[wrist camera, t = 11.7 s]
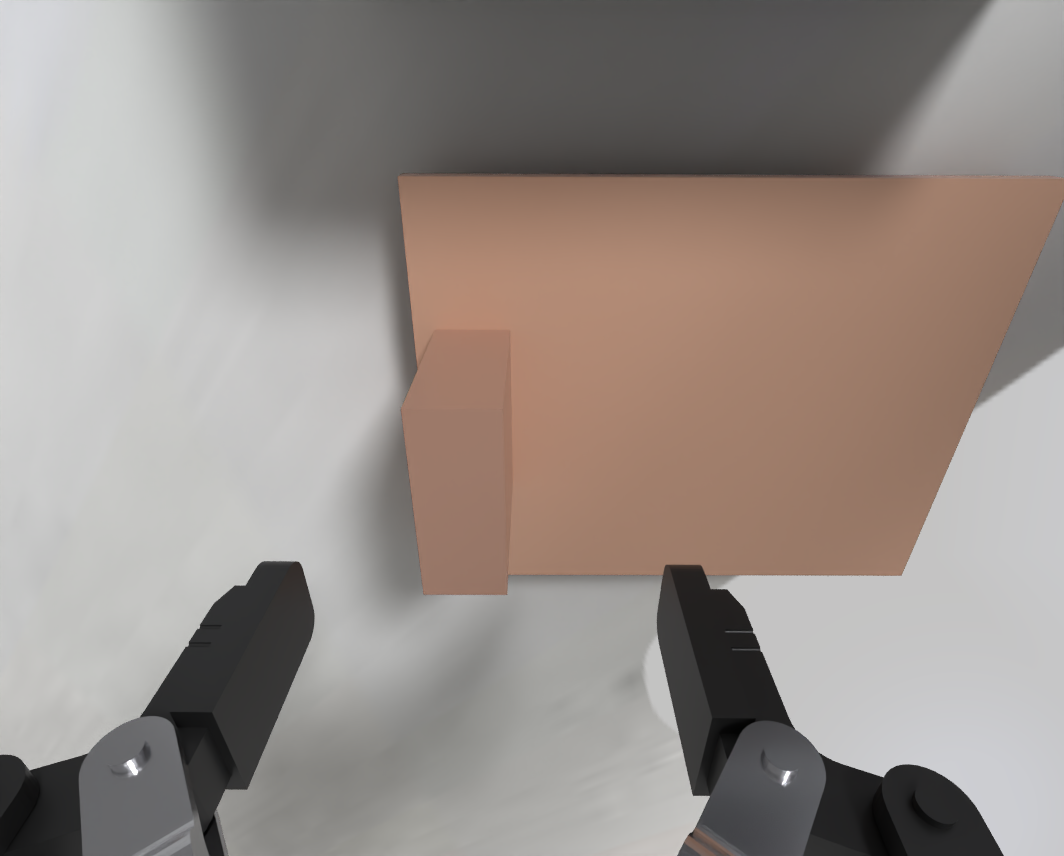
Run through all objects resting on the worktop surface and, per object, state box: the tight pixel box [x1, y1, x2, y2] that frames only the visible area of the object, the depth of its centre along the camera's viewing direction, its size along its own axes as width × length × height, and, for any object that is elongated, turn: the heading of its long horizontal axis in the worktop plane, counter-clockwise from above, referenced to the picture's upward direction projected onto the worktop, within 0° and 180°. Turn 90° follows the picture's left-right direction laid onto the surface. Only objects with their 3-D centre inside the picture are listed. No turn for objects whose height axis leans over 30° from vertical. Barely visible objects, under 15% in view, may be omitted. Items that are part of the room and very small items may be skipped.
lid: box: [398, 173, 1064, 595], centre depth 18 cm, size 19×15×8 cm
